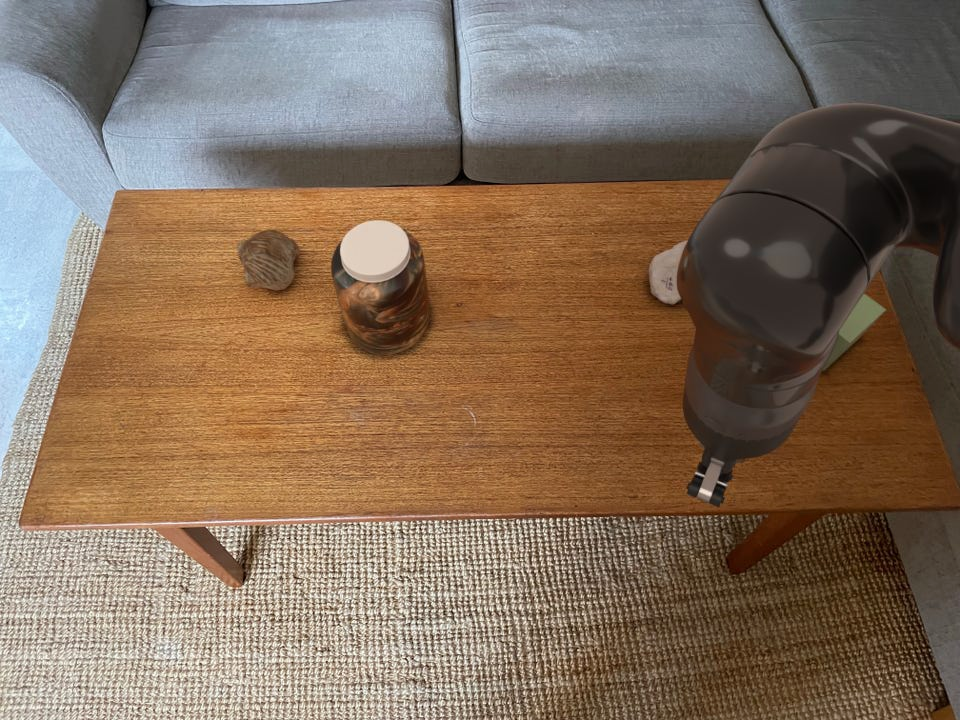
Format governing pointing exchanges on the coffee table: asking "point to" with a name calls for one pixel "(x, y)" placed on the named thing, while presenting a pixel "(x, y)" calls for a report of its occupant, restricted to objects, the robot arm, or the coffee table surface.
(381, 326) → the jar
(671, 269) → the fossil
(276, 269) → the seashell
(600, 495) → the coffee table surface
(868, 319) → the green block
